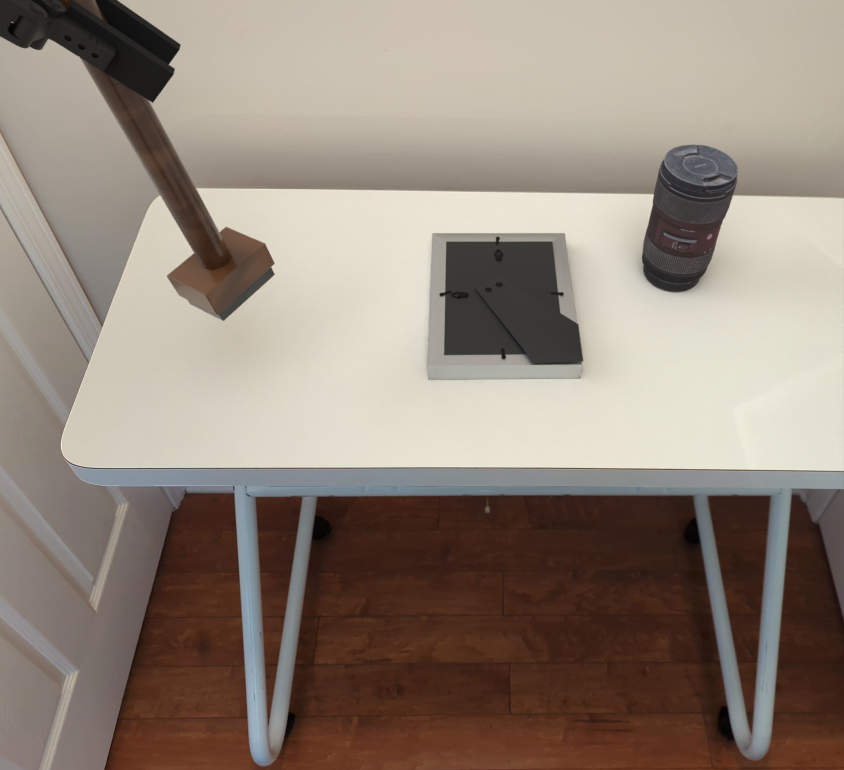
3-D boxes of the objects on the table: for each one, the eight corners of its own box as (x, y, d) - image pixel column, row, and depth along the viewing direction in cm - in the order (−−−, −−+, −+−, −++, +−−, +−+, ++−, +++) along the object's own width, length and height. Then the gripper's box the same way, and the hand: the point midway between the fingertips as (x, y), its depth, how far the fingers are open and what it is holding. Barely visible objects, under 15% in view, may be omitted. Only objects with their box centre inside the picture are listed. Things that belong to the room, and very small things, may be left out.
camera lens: (720, 282, 88) (757, 173, 76) (665, 305, 85) (694, 196, 74) (677, 242, 92) (706, 133, 81) (624, 263, 89) (645, 153, 78)
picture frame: (580, 378, 78) (563, 246, 91) (583, 360, 76) (565, 227, 89) (427, 379, 77) (433, 246, 90) (426, 361, 75) (431, 227, 88)
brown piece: (223, 325, 64) (-153, -296, 33) (185, 305, 66) (-204, -297, 35) (280, 273, 67) (-12, -336, 36) (241, 256, 69) (-66, -335, 38)
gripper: (-248, -215, 43) (154, 55, 58) (-415, -118, 33) (121, 177, 48) (-211, -342, 39) (207, -19, 54) (-385, -275, 30) (182, 95, 45)
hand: (166, 72), depth 51 cm, fingers closed on brown piece, 3 cm apart
